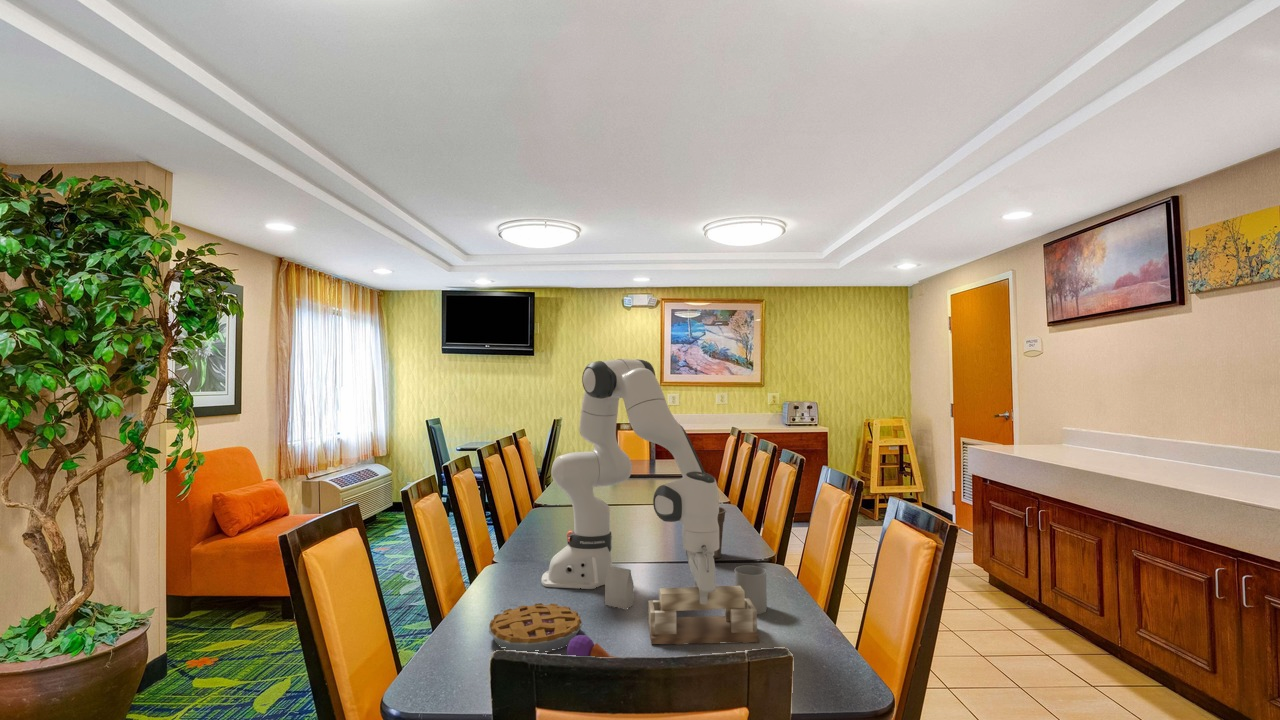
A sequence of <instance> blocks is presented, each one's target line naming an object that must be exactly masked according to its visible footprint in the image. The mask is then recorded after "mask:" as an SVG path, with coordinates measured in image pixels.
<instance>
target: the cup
mask: <svg viewBox="0 0 1280 720" xmlns="http://www.w3.org/2000/svg"><path fill="white" fill-rule="evenodd" d="M734 586H741V587H742V589H743V590H744V591H745V599H750V601H751V602H752V604H753V605H754V607H755V609H756V610H757V615H760V614H763V613H766V611H767V604H768V603H767V601H768V600H767V599H768V598H767V596H768V595H767V570H766V569H765V568H763V567H760V566H757V565H740V566H736V567H735V568H734Z"/></svg>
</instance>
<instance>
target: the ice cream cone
mask: <svg viewBox="0 0 1280 720" xmlns="http://www.w3.org/2000/svg"><path fill="white" fill-rule="evenodd" d="M566 647H567V648H566V655H576V656H595V657H617V656H616V655H615V656H614V655H610V654H609V653H608V652H607V651H606V650H605V649H604V648H603V647H602V646H601V645H600V644H599V643H594V641H593V640H592V638H590V636H588V635H585V634H577V635H576V636H575V637H574V638H573V639H571V640H570V642H569V644H568V646H566Z"/></svg>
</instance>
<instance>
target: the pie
mask: <svg viewBox="0 0 1280 720" xmlns="http://www.w3.org/2000/svg"><path fill="white" fill-rule="evenodd" d="M578 612H579V611H577V610H571V607H570V606H559V605H558V603H550V604H543V603H542V602H541V603H535V604H533V605H521V606H520V605H519V606H518V607H516V608H513V609H511V608H508V609H504V611H503V613H498V614H495V615H494V616H493V619H491V620H490V622H489V625H488V632H489V634H490V635H491V636H492V637H493V639H494V643H497V644H498V645H500V647H506V648H500V647H499V648H500V649H501V650H502V649H505V650H516V651H527V652H538V653H540V654H546V653H548V652H545V651H551V652H554V651H553V650H552V649H558V648H561V647H564V648H566V647H567V646H566V645H568V644H569V642H570V640H571V639H573V638H574V637H575V636H577V635H578V633H579V631H580V630H581V628H582V626H583V621H582V619H581V615H579V613H578ZM497 644H496V645H497ZM565 646H566V647H565ZM535 650H539V651H535ZM558 650H559V649H558Z"/></svg>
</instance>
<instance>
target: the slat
mask: <svg viewBox="0 0 1280 720" xmlns="http://www.w3.org/2000/svg"><path fill="white" fill-rule="evenodd" d="M658 591H659V593H658V594H659V595H658V596H659V599H658V600H659V605H660V608H661V611H665V610H676V612H680V611H681V612H682V611H683V612H684V611H704V610H706V611H707V610H711V611H712V610H725V609H737V608H745V591H744V590H743V589H742V587H741V586H735V585H726V586H725V585H721V586H719V585H718V586H717V585H716V588H715V592H712V593H708V597H707V601H708V602H707V604H700V601H699V588H698V587H696V586H692V587H663V588H662V587H659V589H658Z"/></svg>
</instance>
